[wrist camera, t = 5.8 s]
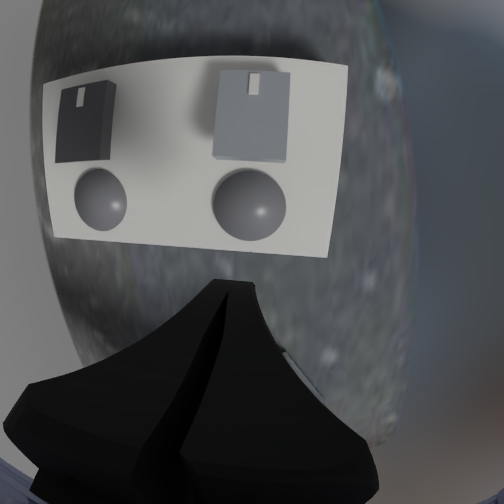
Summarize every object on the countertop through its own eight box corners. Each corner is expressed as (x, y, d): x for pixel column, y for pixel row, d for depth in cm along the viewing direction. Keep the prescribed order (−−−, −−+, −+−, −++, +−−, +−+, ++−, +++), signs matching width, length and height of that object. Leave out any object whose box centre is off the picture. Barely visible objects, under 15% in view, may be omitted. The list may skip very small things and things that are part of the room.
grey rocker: (284, 163, 13) (286, 159, 12) (216, 159, 13) (211, 155, 12) (289, 81, 12) (290, 71, 11) (223, 78, 12) (220, 69, 11)
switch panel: (319, 236, 18) (327, 259, 16) (77, 221, 19) (52, 238, 16) (335, 74, 14) (348, 65, 11) (70, 85, 15) (41, 83, 12)
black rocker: (109, 159, 13) (98, 159, 12) (65, 163, 13) (53, 163, 12) (116, 84, 12) (106, 79, 11) (71, 92, 12) (60, 89, 11)
